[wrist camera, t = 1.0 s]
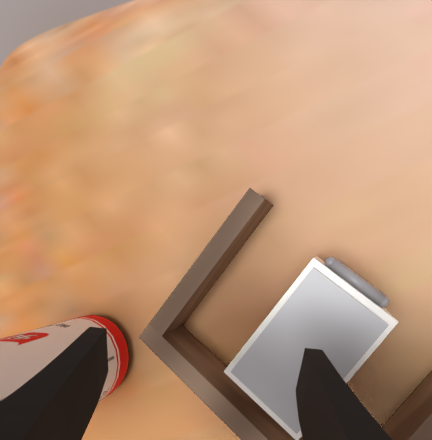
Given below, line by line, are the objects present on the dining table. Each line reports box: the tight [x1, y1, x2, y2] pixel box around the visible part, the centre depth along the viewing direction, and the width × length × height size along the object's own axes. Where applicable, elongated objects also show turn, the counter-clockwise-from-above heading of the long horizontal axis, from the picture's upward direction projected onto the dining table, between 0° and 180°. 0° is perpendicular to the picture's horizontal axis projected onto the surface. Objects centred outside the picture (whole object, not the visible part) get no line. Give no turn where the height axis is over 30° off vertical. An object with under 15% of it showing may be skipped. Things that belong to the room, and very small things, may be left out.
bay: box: [139, 188, 432, 440], centre depth 23 cm, size 16×12×4 cm
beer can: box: [0, 315, 129, 402], centre depth 21 cm, size 6×6×16 cm
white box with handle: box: [224, 256, 398, 440], centre depth 21 cm, size 5×9×6 cm, turn 142°
